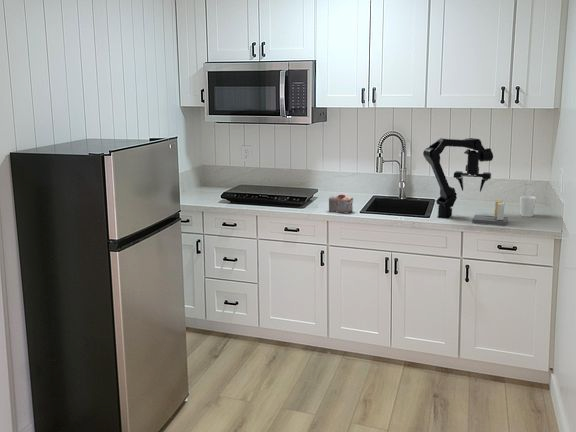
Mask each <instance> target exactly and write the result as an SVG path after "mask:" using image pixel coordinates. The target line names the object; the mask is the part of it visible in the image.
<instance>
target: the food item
mask: <svg viewBox="0 0 576 432" xmlns="http://www.w3.org/2000/svg"><path fill="white" fill-rule="evenodd" d="M353 203H354V197H349V196H348V197H346V194H339V195H336V196H335V195H331V196H329V198H328V211H329V212H330V211H338V212H341V213H343V212H349V213H351V212H352V211H353V210H354V209H353V207H354V206H353ZM350 211H351V212H350ZM338 212H337V213H338Z"/></svg>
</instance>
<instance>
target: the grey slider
mask: <svg viewBox="0 0 576 432" xmlns="http://www.w3.org/2000/svg"><path fill="white" fill-rule="evenodd" d="M504 217H505V202H502V203H498V206H497V220H503V219H504Z"/></svg>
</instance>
